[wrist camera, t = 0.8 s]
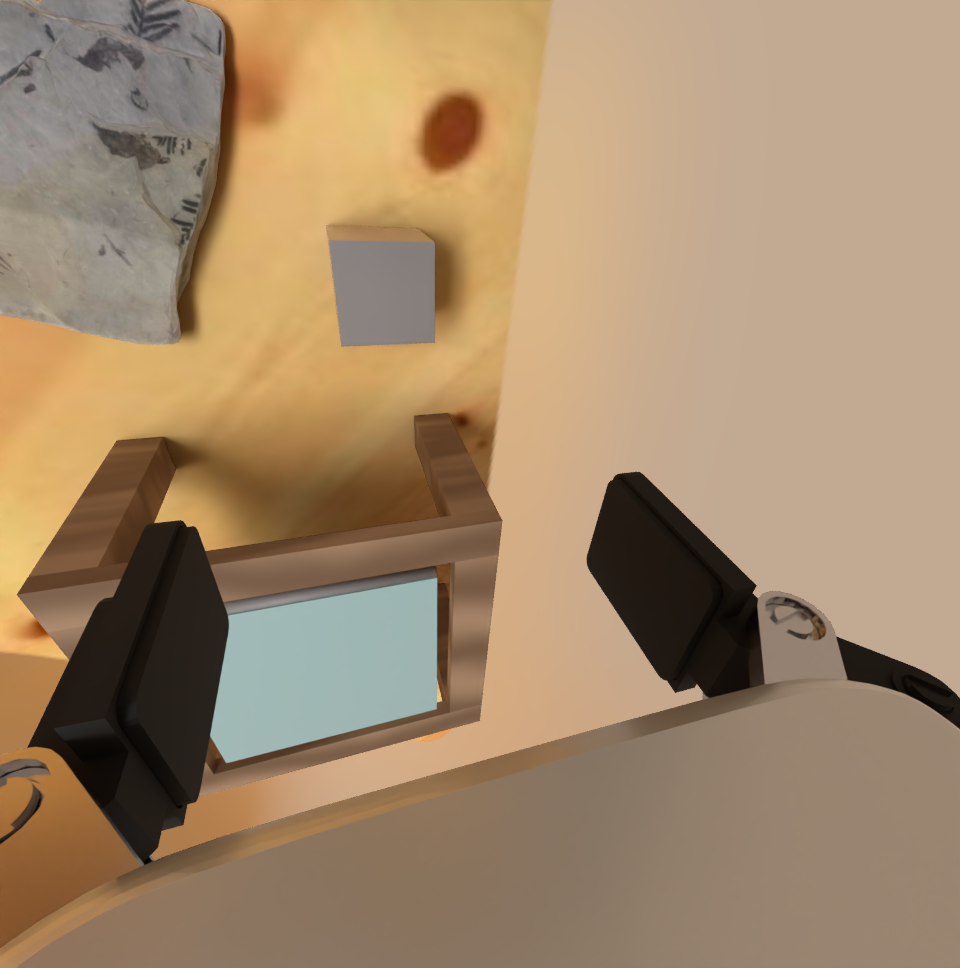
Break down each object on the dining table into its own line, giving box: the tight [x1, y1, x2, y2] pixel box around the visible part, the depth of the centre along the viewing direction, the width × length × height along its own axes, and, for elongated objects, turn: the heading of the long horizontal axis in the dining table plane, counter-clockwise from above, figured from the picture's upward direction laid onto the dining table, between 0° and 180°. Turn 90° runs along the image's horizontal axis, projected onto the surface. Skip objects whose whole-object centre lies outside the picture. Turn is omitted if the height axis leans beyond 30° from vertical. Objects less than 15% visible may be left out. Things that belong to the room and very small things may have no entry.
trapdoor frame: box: [17, 413, 502, 797], centre depth 32 cm, size 21×21×12 cm
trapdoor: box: [210, 566, 437, 763], centre depth 28 cm, size 14×14×1 cm
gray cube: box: [326, 226, 435, 346], centre depth 25 cm, size 5×5×5 cm
